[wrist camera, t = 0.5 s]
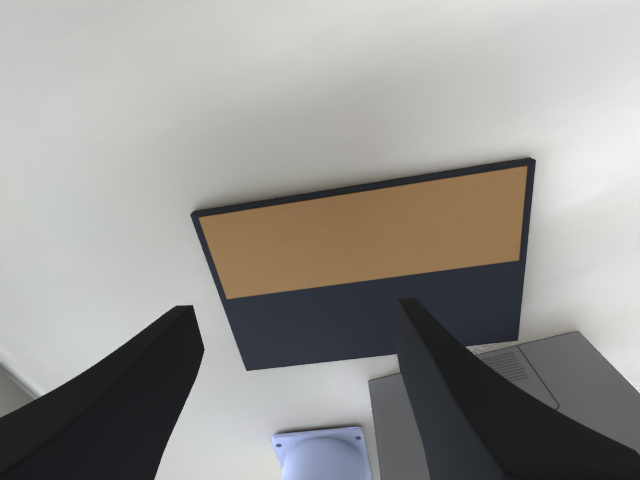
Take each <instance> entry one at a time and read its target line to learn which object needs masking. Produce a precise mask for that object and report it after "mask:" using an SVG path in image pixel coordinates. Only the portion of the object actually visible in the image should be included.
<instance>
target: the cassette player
mask: <svg viewBox="0 0 640 480" xmlns="http://www.w3.org/2000/svg"><path fill="white" fill-rule="evenodd" d="M475 356H476V357H478V358H479V359H480V360H481V361H483V362H484V363H485V364H487V365H488V366H489V367H491V368H492V369H493V370H495V371H496V372H497V373H499V374H500V375H501V376H503V377H504V378H506V379H507V380H509V381H510V382H511V383H513V384H514V385H516V386H517V387H519V388H521V389H522V390H524V391H525V392H527V393H528V394H530V395H532V396H533V397H535V398H536V399H538V400H540V401H541V402H543V403H545V404H546V405H548V406H550V407H552V408H553V409H555V410H557V411H559V412H560V413H562V414H564V415H566V416H568V417H570V418H571V419H573V420H575V421H577V422H579V423H581V424H582V425H584V426H586V427H588V428H590V429H592V430H595V431H597V432H599V433H601V434H603V435H605V436H607V437H609V438H611V439H613V440H615V441H617V442H619V443H621V444H624V445H626V446H628V447H630V448H632V449H634V450H636V451H637V452H638V454H639V455H640V393H639V392H638V391H637V390H636V389H635V388H634V387H633V386H632V385H631V384H630V383H629V382H628V381H627V380H626V379H625V378H624V377H623V376H622V375H621V374H620V373H619V372H618V371H617V370H616V369H615V368H614V367H613V366H612V365H611V364H610V363H609V362H608V361H607V360H606V359H605V358H604V357H603V356H602V355H601V353H600V352H599V351H598V350H597V349H596V348H595V347H594V346H593V345H592V344H591V343H590V342H589V341H588V340H587V339H586V338H585V337H584V336H583V335H582V334H581V333H580V332H579V331H576V332H571V333H567V334H563V335H559V336H555V337H551V338H546V339H542V340H538V341H534V342H530V343H525V344H521V345H517V346H513V347H509V348H504V349H500V350H496V351H492V352H488V353H483V354H479V355H475ZM368 383H369V390H370V398H371V406H372V413H373V421H374V429H375V436H376V444H377V452H378V459H379V467H380V475H381V480H430V476H429V471H428V466H427V461H426V457H425V452H424V448H423V444H422V440H421V436H420V433H419V430H418V426H417V423H416V420H415V417H414V414H413V410H412V407H411V404H410V401H409V398H408V394H407V391H406V388H405V385H404V381H403V378H402V375H401V373H400V374H395V375H391V376H387V377H383V378H379V379H374V380H370V381H368Z"/></svg>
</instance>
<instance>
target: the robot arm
mask: <svg viewBox="0 0 640 480" xmlns="http://www.w3.org/2000/svg"><path fill="white" fill-rule="evenodd" d="M204 350H205V349H204V345H203V342H202V338H201V334H200V330H199V327H198V323H197V319H196V315H195V312H194V308H193V305H186V306H175V307H174V308H172V309H171V310H169V311H168V312H166V313H165V314H164V315H162V316H161V317H160V318H158V319H157V320H156V321H154V322H153V323H152V324H150V325H149V326H148V327H147V328H145V329H144V330H143V331H141V332H140V333H139V334H137V335H136V336H135V337H133V338H132V339H131V340H129V341H128V342H127V343H125V344H124V345H122V346H121V347H120V348H118V349H117V350H115V351H114V352H112V353H111V354H110V355H108V356H107V357H105V358H104V359H103V360H101V361H100V362H98V363H97V364H95V365H94V366H92V367H91V368H89V369H88V370H86V371H84V372H83V373H81V374H80V375H78V376H76V377H75V378H73V379H71V380H70V381H68V382H67V383H65V384H63V385H61V386H60V387H58V388H56V389H55V390H53V391H51V392H49V393H47V394H45V395H43V396H41V397H40V398H38V399H36V400H34V401H32V402H31V403H28V404H27V405H25V406H23V407H21V408H19V409H17V410H15V411H13V412H11V413H9V414H7V415H5V416H3V417H1V418H0V480H154V479H155V476H156V473H157V470H158V467H159V464H160V461H161V458H162V455H163V452H164V450H165V447H166V445H167V442H168V440H169V438H170V435H171V433H172V431H173V429H174V426H175V424H176V422H177V420H178V418H179V415H180V413H181V411H182V409H183V407H184V404H185V402H186V400H187V398H188V395H189V393H190V391H191V389H192V386H193V384H194V382H195V379H196V377H197V374H198V371H199V368H200V364H201V361H202V357H203V354H204ZM396 350H397V355H398V361H399V366H400V371H401V375H402V378H403V381H404V385H405V388H406V391H407V394H408V398H409V401H410V404H411V407H412V410H413V414H414V417H415V420H416V423H417V426H418V430H419V433H420V436H421V440H422V444H423V448H424V452H425V457H426V461H427V466H428V471H429V476H430V480H640V455H639V454H638V452H637V451H636V450H634V449H632V448H630V447H628V446H626V445H624V444H621V443H619V442H617V441H615V440H613V439H611V438H609V437H607V436H605V435H603V434H601V433H599V432H597V431H595V430H592V429H590V428H588V427H586V426H584V425H582V424H581V423H579V422H577V421H575V420H573V419H571V418H570V417H568V416H566V415H564V414H562V413H560V412H559V411H557V410H555V409H553V408H552V407H550V406H548V405H546V404H545V403H543V402H541V401H540V400H538V399H536V398H535V397H533V396H532V395H530V394H528V393H527V392H525V391H524V390H522V389H521V388H519V387H517V386H516V385H514V384H513V383H511V382H510V381H509V380H507V379H506V378H504V377H503V376H501V375H500V374H499V373H497V372H496V371H495V370H493V369H492V368H491V367H489V366H488V365H487V364H485V363H484V362H483V361H481V360H480V359H479V358H478V357H476V356H475V355H474V354H473V353H472V352H470V351H469V350H468V349H467V348H466V347H465V346H464V345H462V344H461V343H460V342H459V341H458V340H457V339H456V338H455V337H454V336H453V335H452V334H451V333H450V332H449V331H448V330H447V329H446V328H444V327H443V326H442V325H441V323H440V322H439V321H438V320H437V319H436V318H435V317H434V316H433V315H432V314H431V313H430V312H429V311H428V310H427V309H426V308H425V307H424V306H423V304H422V303H421V302H420V301H419V300H418V299H417V298H416V297H413V298H398V301H397V322H396ZM272 443H273V446H274V449H275V452H276V454H277V457H278V460H279V463H280V466H281V468H282V471H283V474H282V480H372V477H371V471H370V466H369V460H368V455H367V449H366V443H365V438H364V432H363V429H362V428H361V427H347V428H336V429H325V430H314V431H304V432H293V433H282V434H275V435H273V437H272Z"/></svg>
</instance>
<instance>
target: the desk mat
mask: <svg viewBox="0 0 640 480" xmlns="http://www.w3.org/2000/svg"><path fill="white" fill-rule="evenodd" d="M535 164H536V160H535V159H532V158H525V159H519V160H512V161H506V162H500V163H494V164H487V165H481V166H475V167H468V168H462V169H456V170H450V171H443V172H437V173H431V174H425V175H418V176H412V177H406V178H400V179H393V180H387V181H381V182H374V183H368V184H362V185H356V186H349V187H343V188H337V189H331V190H324V191H318V192H312V193H306V194H299V195H293V196H287V197H280V198H274V199H268V200H262V201H255V202H249V203H243V204H237V205H230V206H224V207H218V208H212V209H205V210H199V211H194V212H193V213H192V214H191V218H192V221H193V224H194V226H195V229H196V232H197V235H198V238H199V240H200V243H201V246H202V249H203V251H204V254H205V257H206V260H207V263H208V265H209V268H210V271H211V274H212V276H213V279H214V282H215V285H216V288H217V290H218V293H219V296H220V299H221V301H222V304H223V307H224V310H225V313H226V315H227V318H228V321H229V324H230V326H231V329H232V332H233V335H234V338H235V340H236V343H237V346H238V349H239V351H240V354H241V357H242V360H243V363H244V365H245V368H246V371H250V370H259V369H268V368H277V367H286V366H295V365H304V364H313V363H321V362H330V361H339V360H348V359H357V358H366V357H375V356H384V355H393V354H397V350H396V322H397V301H398V298H413V297H416V298H417V299H418V300H419V301H420V302H421V303H422V304H423V306H424V307H425V308H426V309H427V310H428V311H429V312H430V313H431V314H432V315H433V316H434V317H435V318H436V319H437V320H438V321H439V322H440V323H441V325H442V326H443V327H444V328H446V329H447V330H448V331H449V332H450V333H451V334H452V335H453V336H454V337H455V338H456V339H457V340H458V341H459V342H460V343H461V344H462V345H464V346H473V345H482V344H491V343H500V342H509V341H517V340H518V334H519V324H520V314H521V304H522V294H523V284H524V274H525V264H526V254H527V244H528V234H529V224H530V214H531V204H532V194H533V184H534V174H535Z"/></svg>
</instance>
